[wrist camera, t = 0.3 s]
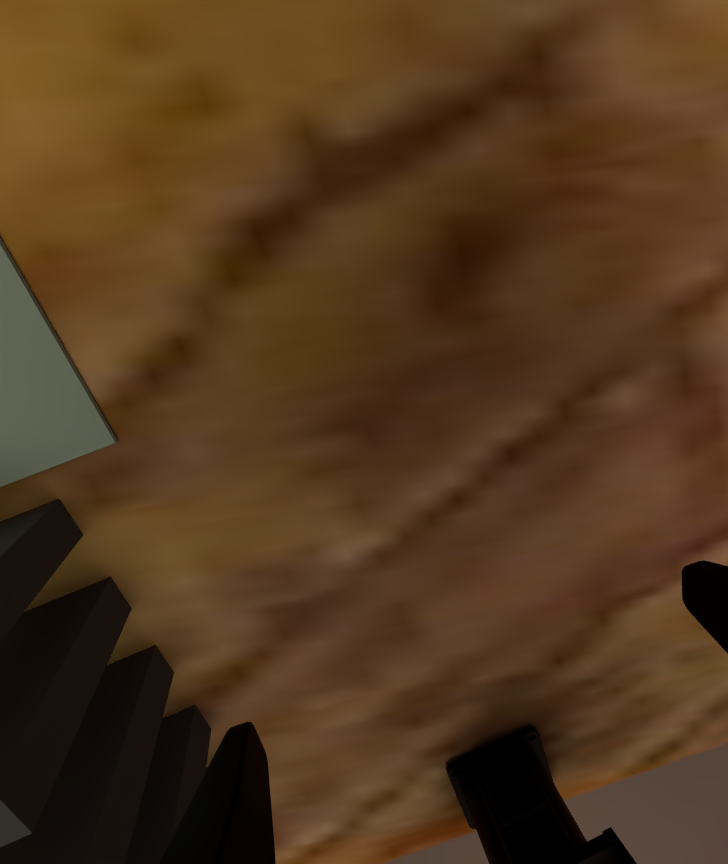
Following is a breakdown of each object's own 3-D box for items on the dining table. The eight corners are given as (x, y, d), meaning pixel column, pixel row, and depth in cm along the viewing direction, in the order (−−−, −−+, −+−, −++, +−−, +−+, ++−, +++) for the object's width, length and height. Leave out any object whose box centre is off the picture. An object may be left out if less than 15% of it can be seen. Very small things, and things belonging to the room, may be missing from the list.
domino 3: (212, 731, 26) (177, 983, 16) (126, 768, 25) (41, 1048, 16) (194, 705, 25) (148, 953, 16) (106, 743, 25) (4, 1021, 15)
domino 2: (175, 674, 24) (114, 917, 15) (83, 713, 24) (-39, 988, 14) (155, 645, 24) (78, 881, 14) (60, 685, 23) (-84, 954, 14)
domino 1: (133, 610, 23) (35, 836, 13) (34, 651, 22) (-138, 913, 13) (111, 577, 22) (-9, 790, 13) (8, 618, 22) (-195, 870, 12)
